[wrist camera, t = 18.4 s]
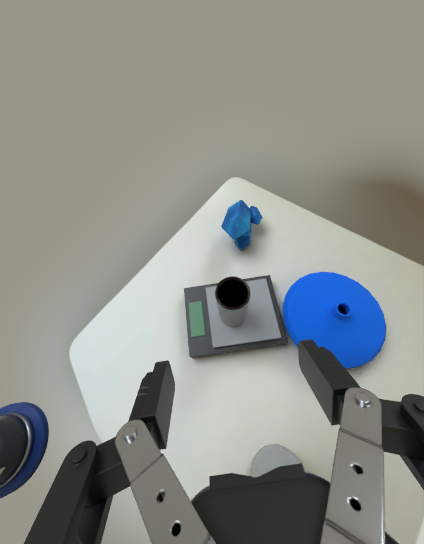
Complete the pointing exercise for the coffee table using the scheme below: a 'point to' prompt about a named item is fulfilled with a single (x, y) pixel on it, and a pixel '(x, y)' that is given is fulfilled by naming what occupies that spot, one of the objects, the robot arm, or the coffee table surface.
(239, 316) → the grey cylindrical tube
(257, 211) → the crystal
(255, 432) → the coffee table surface
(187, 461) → the coffee table surface
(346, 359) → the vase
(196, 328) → the scale
